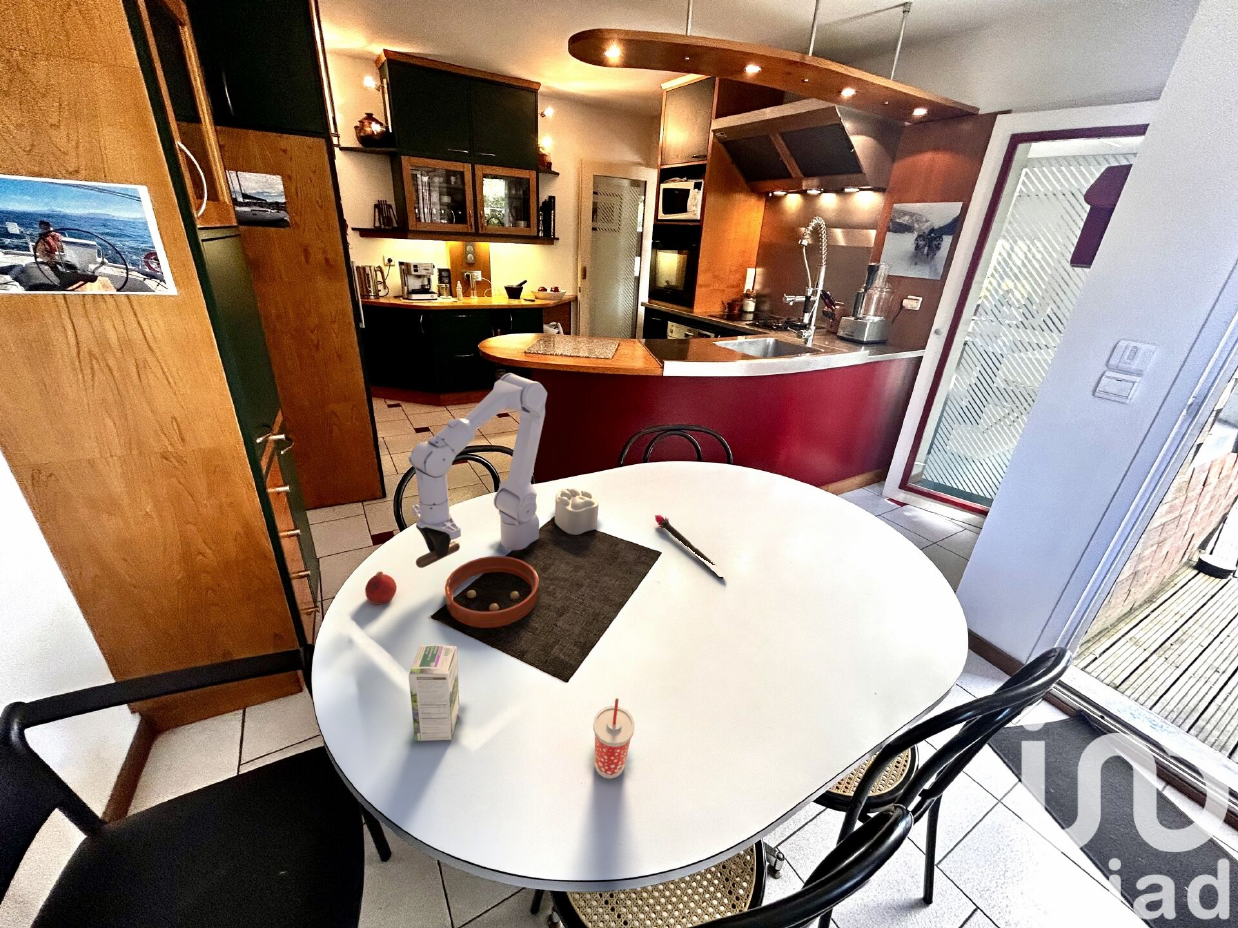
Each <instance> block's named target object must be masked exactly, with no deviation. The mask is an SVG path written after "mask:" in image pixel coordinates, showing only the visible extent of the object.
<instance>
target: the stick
mask: <svg viewBox="0 0 1238 928" xmlns="http://www.w3.org/2000/svg"><path fill="white" fill-rule="evenodd" d="M460 548H461V545H460V543H459V542H458V541H456V540H455V541H454V540H452V541H451V542H450V545H449V549H448V554H447V555H446V556H444V557H442V558H440V559H439V558H438V557H437V555H436V552H435V550H434V551H431V552H430V551H429V552H427V553H425V554H422V555H421V556H419V557H417V558H416V560H415V565H416V567H417V568H420V569H423V568H426V567H428V566H430V565H432V564H434V563H436V562H438V561H440V560H443V559H444V558H447V557H448V556H451V555H452V554H455V553H457V552H458V551H459V550H460Z"/></svg>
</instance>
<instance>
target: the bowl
mask: <svg viewBox="0 0 1238 928" xmlns="http://www.w3.org/2000/svg"><path fill="white" fill-rule="evenodd" d="M489 573H506V574H511V575H514V576H517V577H519V578H521V579H522V580H524V581H525V582H526V583H527V584H528V585H529V587H530V590H531V593H530V594H529V595H528V596H527V597H526V598H525V599H524V600H523V601H520V602H519V603H517V604H516V605H514V606H510V607H507V608H505V609H501V610H499V609H498V610H497V611H494V612H491V611H480V610H479V611H478V610H473V609H469V608H466V607H464V606H461V605H459V604H458V603H457V602H455V600H454V597H455V596H454V595H455V593H456V591H457V590H458V588H459V587H460V586H461V585H463V584H464V583H465V582H466V581H468V580H470V579H472V578H475V577H476V576H480V575H483V574H489ZM444 595H445V596H444V597H445V605H446V609H447V611H448V613H449V614H450V616H451V617H452V618H454V620H456V621H457V622H460V623H461V624H464V625H466V626H469V627H475V628H481V629H483V628H484V629H486V628H487V629H490V628H499V627H503V626H508V625H510V624H513V623H515V622H518V621H519V620H521V619H523V618H524V617H525V616H527V615H529V613H530V612H531V611H532V610H533V608H535V606H536V604H537V602H538V599H539V576H538V574H537V572H536V570H535V569H534V568H533V567H532V566H531V565H530V564H528V563H527V562H526V561H523V560H522V559H518V558H515V557H512V556H506V555H489V556H483V557H478V558H475V559H472V560H469V561H467V562H465V563H463V564H461V565H459V566H458V567H457V568H455V569H454V570H453V571H452V572H451V573H450V575H449V576H448V577H447V579H446V582H445V585H444Z"/></svg>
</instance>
